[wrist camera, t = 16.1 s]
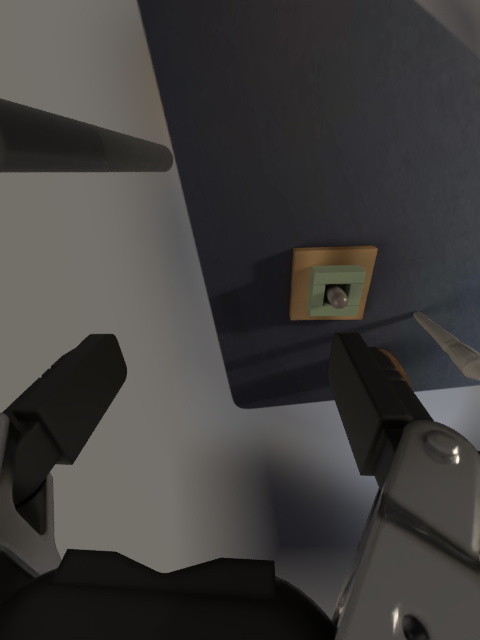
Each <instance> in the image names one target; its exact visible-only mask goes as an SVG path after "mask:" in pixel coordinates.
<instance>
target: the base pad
mask: <svg viewBox="0 0 480 640" xmlns="http://www.w3.org/2000/svg"><path fill="white" fill-rule="evenodd" d="M377 250H378V249H377V248H376V247H374V246H346V247H314V248H294V250H293V267H292V283H291V300H290V319H291V320H344V319H362V317H363V312H364V308H365V303H366V299H367V294H368V290H369V285H370V281H371V277H372V272H373V268H374V263H375V259H376V254H377ZM338 265H359V266H360V267H361V268H362V269H363V270H364V271H365V272H366V274H365V278H364V283H363V288H362V293H361V297H360V302H359V307H358V312H357V316H310V315H309V313H308V310H307V297H308V287H309V277H310V267H311V266H338ZM324 298H328V300H329V302H330V303H331V305H332V306H333V307H334V308H336V309H342V308H344V307H345V306H346V305H347V303H348V298H347V296H346V294H345V293H344V291H343V284H325V292H324Z"/></svg>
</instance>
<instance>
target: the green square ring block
mask: <svg viewBox="0 0 480 640" xmlns="http://www.w3.org/2000/svg"><path fill="white" fill-rule="evenodd" d="M365 274H366V272H365V271H364V270H363V269H362V268H361V267H360V266H359V265H338V266H311V267H310V277H309V287H308V297H307V310H308V313H309V315H310V316H357V312H358V307H359V302H360V297H361V293H362V288H363V283H364V278H365ZM325 284H343V291H344V293H345V294H346V296H347V298H348V303H347V305H346V306H345V307H344V308H342V309H336V308H334V307H333V306H332V305H331V303H330V302H329V300H328V298H324V292H325Z"/></svg>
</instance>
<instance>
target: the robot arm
mask: <svg viewBox="0 0 480 640" xmlns="http://www.w3.org/2000/svg"><path fill="white" fill-rule="evenodd" d="M396 369H397V368H396V367H395V365H394V364H393V363H392V361H391V360H390V358H389V357H388V356H387V355H385V354H384V353H382V352H381V351H380V350H378V349H377V348H376V347H368V346H367V345H366V343H365V342H364V340H363V339H362V337H361V335H360V334H359V333H335V334H334V336H333V340H332V346H331V352H330V358H329V364H328V380H329V385H330V388H331V390H332V393H333V396H334V399H335V402H336V405H337V408H338V411H339V414H340V417H341V420H342V422H343V426H344V428H345V431H346V434H347V437H348V440H349V443H350V446H351V449H352V452H353V454H354V458H355V460H356V463H357V467H358V469H359V472H360V475H365V476H375V478H376V481H377V483H378V486H379V489H378V492H377V494H376V497H375V499H374V502H373V505H372V508H371V511H370V513H369V516H368V519H367V522H366V525H365V527H364V530H363V533H362V536H361V539H360V541H359V544H358V547H357V550H356V553H355V555H354V558H353V561H352V563H351V566H350V568H349V571H348V573H347V576H346V579H345V581H344V584H343V586H342V589H341V592H340V595H339V598H338V600H337V603H336V606H335V608H334V611H333V614H332V617H331V620H330V618H329V617H328V616H327V615H326V613H325V612H324V611H323V610H322V609H321V608H320V607H319V606H318V605H317V604H316V603H315V602H314V601H313V600H312V599H311V598H309V597H308V596H307V595H306V594H305V593H303V592H302V591H301V590H300V589H298V588H297V587H295V586H293V585H292V584H290V583H289V582H287V581H285V580H283V579H280V578H278V577H276V576H275V567H274V561H269V560H252V559H234V558H218V559H215V560H212V561H208V562H205V563H201V564H198V565H195V566H191V567H187V568H184V569H180V570H177V571H173V572H170V573H160V572H157V571H155V570H153V569H151V568H149V567H147V566H145V565H143V564H140V563H138V562H136V561H134V560H132V559H130V558H128V557H126V556H124V555H121V554H120V553H118V552H112V551H95V550H77V549H67V551H66V553H65V555H64V557H63V559H62V561H61V558H60V555H59V553H58V551H57V548H56V545H55V538H54V501H53V477H52V475H51V473H50V471H51V469H52V468H53V467H54V465H55V464H65V465H72V464H73V463H74V461H75V460H76V458H77V457H78V455H79V454H80V452H81V450H82V449H83V447H84V446H85V444H86V442H87V441H88V439H89V438H90V436H91V434H92V433H93V431H94V430H95V428H96V426H97V425H98V423H99V421H100V420H101V419H102V417H103V415H104V414H105V412H106V411H107V409H108V407H109V406H110V404H111V403H112V401H113V399H114V398H115V396H116V395H117V393H118V392H119V390H120V388H121V387H122V385H123V383H124V382H125V379H126V376H127V367H126V364H125V361H124V358H123V355H122V352H121V349H120V346H119V343H118V340H117V338H116V337H115V335H113V334H90V335H89V336H88V337H86V338H85V339H84V340H83V341H82V342H81V343H80V344H79V345H78V346H77V347H76V348H75V349H73V350H71V351H70V352H68V353H66V354H65V355H63V356H62V357H61V358H59V359H58V360H57V361H56V362H55V363H54V364H53V365H52V366H51V369H48V370H47V371H46V372H45V373H44V374H42V377H41V378H38V379H37V380H36V381H35V382H34V383H33V384H32V385H31V386H30V387H29V388H28V389H27V390H26V391H24V392H23V393H22V394H21V395H20V396H19V397H18V398H17V399H16V400H15V401H14V402H13V403H12V404H11V405H10V406H9V407H8V408H7V409H6V410H4V411H3V412H2V413H0V640H480V561H479V554H480V451H477V450H476V449H475V447H474V446H473V445H472V444H471V443H470V442H469V441H468V440H467V439H466V438H465V437H463V436H462V435H461V434H460V433H458V432H457V431H455V430H453V429H452V428H450V427H447V426H446V425H443V424H441V423H438V422H434V420H433V419H432V418H431V416H430V415H429V414H428V412H427V411H426V409H425V408H424V406H423V405H422V403H421V402H420V401H419V399H418V398H417V396H416V395H415V394H414V392H413V391H412V389H411V388H410V387H409V385H408V384H407V382H406V381H404V380H403V379H404V378H403V377H402V375H401V374H400V373H399V371H397V370H396Z"/></svg>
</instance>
